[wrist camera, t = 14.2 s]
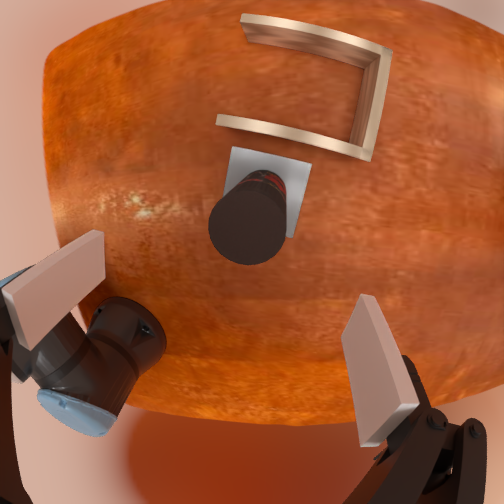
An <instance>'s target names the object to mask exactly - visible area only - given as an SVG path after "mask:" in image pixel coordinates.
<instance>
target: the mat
mask: <svg viewBox="0 0 504 504" xmlns="http://www.w3.org/2000/svg"><path fill="white" fill-rule="evenodd" d="M311 165H312V164H311V163H307V162H303V161H299V160H295V159H291V158H287V157H282V156H278V155H274V154H269V153H265V152H260V151H255V150H250V149H245V148H240V147H235V146H232V151H231V156H230V161H229V166H228V171H227V177H226V182H225V188H224V193H223V197H224V196H225V195H226V194H227V193H228V192H229V191H230V190H231V189H233V188H234V187H235V186H236V185H237V184H238V183H239V182H240V181H241V180H243V179H244V178H245V177H246V176H247V175H248V174H250V173H251V172H254V171H256V170H269V171H272V172H274V173H276V174H277V175H278V176H280V178H281V179H282V180H283V182H284V184H285V186H286V193H287V230H286V237H290V238H293V235H294V231H295V227H296V223H297V220H298V216H299V212H300V208H301V205H302V201H303V197H304V193H305V189H306V185H307V181H308V177H309V173H310V169H311Z"/></svg>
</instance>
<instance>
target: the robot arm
mask: <svg viewBox="0 0 504 504" xmlns="http://www.w3.org/2000/svg"><path fill="white" fill-rule="evenodd" d="M105 278H106V277H105V256H104V232H102V231H98V230H94V229H93V230H91V231H89V232H87V233H86V234H84V235H82V236H80V237H79V238H77V239H75V240H74V241H72V242H70V243H69V244H67V245H65V246H64V247H62V248H61V249H59V250H57V251H56V252H54V253H53V254H51V255H50V256H48V257H46V258H45V259H43V260H42V261H40V262H39V263H37V264H35V265H33V266H30V267H28V268H25V269H23V270H21V271H18V272H16V273H15V274H12V275H10V276H8V277H6V278H4V279H3V280H1V281H0V504H33V502H32V501H31V499H30V497H29V495H28V494H27V492H26V491H25V489H24V487H23V484H22V481H21V476H20V471H19V466H18V461H17V455H16V448H15V440H14V431H13V420H12V399H11V382H15V383H21V384H22V383H23V382H25V380H27V379H28V378H29V377H30V376H31V377H32V378H33V379H34V380H35V381H36V383H37V384H38V385H39V386H40V388H41V389H39V390H38V394H37V399H38V401H39V402H40V403H41V405H42V406H43V407H44V408H45V410H47V411H48V412H49V413H50V414H51V415H52V416H54V417H55V418H56V419H58V420H59V421H61V422H62V423H64V424H65V425H67V426H69V427H70V428H72V429H74V430H76V431H78V432H80V433H83V434H85V435H89V436H93V437H101V436H104V435H106V434H107V433H108V431H109V430H110V428H111V427H112V425H113V424H114V422H115V421H116V420H117V417H118V415H119V413H120V411H121V409H122V407H123V405H124V403H125V402H126V400H127V398H128V396H129V394H130V392H131V390H132V389H133V387H134V385H135V383H136V381H137V379H138V378H139V376H140V375H142V374H143V373H144V372H146V371H147V370H148V369H150V368H151V367H152V366H153V365H155V364H156V363H157V362H158V361H159V360H160V358H161V356H162V355H163V353H164V351H165V348H166V338H165V334H164V331H163V329H162V327H161V326H160V324H159V322H158V321H157V320H156V319H155V317H154V316H153V315H152V314H151V313H150V312H149V311H148V310H146V309H145V308H144V307H142V306H141V305H139V304H138V303H136V302H134V301H132V300H129V299H126V298H122V297H111V298H108V299H106V300H104V301H103V302H102V303H101V304H100V305H99V306H98V307H97V308H96V310H95V312H94V314H93V316H92V319H91V322H90V325H89V328H88V330H87V333H86V334H85V332H84V331H83V330H82V328H81V327H80V326H79V324H78V322H77V321H76V320H75V318H74V317H73V315H72V314H71V312H70V311H71V310H72V308H74V307H75V306H76V305H77V304H78V303H79V302H80V301H81V300H82V299H83V298H84V297H85V296H86V295H88V294H89V293H90V292H91V291H92V290H93V289H94V288H95V287H96V286H97V285H98V284H100V283H101V282H102V281H103V280H104V279H105ZM341 341H342V345H343V350H344V355H345V360H346V365H347V370H348V375H349V380H350V385H351V391H352V396H353V402H354V408H355V414H356V420H357V427H358V433H359V440H360V446H361V447H371V446H379V445H380V444H381V443H382V442H383V441H384V440H385V439H387V444H388V446H387V447H386V448H385V449H384V450H383V451H382V452H381V453H379V454H378V455H377V456H376V457H375V458H374V460H376V459H377V458H378V459H377V460H376V462H375V463H374V465H373V466H372V467H371V469H370V470H369V471H368V473H367V474H366V475H365V477H364V478H363V479H362V481H361V482H360V483H359V484H358V486H357V487H356V488H355V489H354V491H353V492H352V493H351V494H350V495H349V497H348V498H347V499H346V500H345V501H344V502H343V504H483V502H484V494H485V483H486V466H487V465H486V464H487V438H486V437H487V435H486V430H485V427H484V426H483V424H482V423H481V422H480V421H478V420H477V419H475V418H470V419H467V420H466V421H465V422H464V423H463V424H462V425H461V426H459V425H455V424H451V423H448V419H447V418H446V416H445V415H444V414H443V413H442V412H441V411H440V410H438V409H435V408H431V405H430V402H429V400H428V397H427V394H426V392H425V389H424V387H423V384H422V382H421V380H420V377H419V375H417V374H418V372H417V370H416V368H415V365H414V364H413V362H412V361H411V360H410V359H409V358H408V357H407V356H406V355H401V354H400V351H399V349H398V347H397V344H396V342H395V340H394V338H393V335H392V333H391V331H390V329H389V326H388V324H387V322H386V320H385V318H384V315H383V313H382V311H381V309H380V307H379V305H378V303H377V301H376V299H375V297H374V296H370V295H366V294H360V296H359V299H358V301H357V303H356V306H355V308H354V310H353V312H352V314H351V317H350V319H349V321H348V323H347V325H346V327H345V329H344V331H343V333H342V336H341ZM452 467H453V469H452V474H451V468H452Z"/></svg>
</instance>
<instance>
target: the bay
mask: <svg viewBox="0 0 504 504" xmlns="http://www.w3.org/2000/svg"><path fill="white" fill-rule="evenodd" d="M240 23H241V26H242V28H243V30H244V33H245V35H246V37H247V40H248V42H252V43H259V44H266V45H272V46H278V47H283V48H288V49H293V50H298V51H303V52H307V53H311V54H315V55H319V56H323V57H327V58H331V59H334V60H338V61H341V62H344V63H347V64H351V65H354V66H357V67H360V68H363V69H364V74H363V79H362V84H361V89H360V94H359V99H358V104H357V109H356V113H355V118H354V122H353V127H352V131H351V135H350V140H349V143H347V142H343V141H340V140H337V139H333V138H330V137H326V136H323V135H319V134H315V133H311V132H308V131H304V130H300V129H295V128H291V127H287V126H283V125H278V124H273V123H269V122H264V121H259V120H253V119H248V118H242V117H236V116H230V115H224V114H218V115H217V120H216V125H219V126H224V127H229V128H234V129H240V130H246V131H251V132H256V133H261V134H266V135H271V136H275V137H280V138H284V139H288V140H293V141H297V142H301V143H305V144H309V145H312V146H316V147H320V148H324V149H327V150H331V151H334V152H338V153H341V154H344V155H348V156H351V157H354V158H358V159H361V160H365V161H368V162H370V161H371V157H372V153H373V149H374V145H375V141H376V137H377V132H378V128H379V123H380V119H381V114H382V109H383V104H384V99H385V94H386V88H387V83H388V77H389V71H390V64H391V58H392V50H391V49H389V48H386V47H384V46H381V45H378V44H376V43H373V42H370V41H368V40H365V39H362V38H359V37H356V36H353V35H350V34H346V33H343V32H340V31H336V30H332V29H329V28H325V27H321V26H317V25H313V24H308V23H304V22H299V21H294V20H288V19H283V18H276V17H270V16H262V15H254V14H244V13H242V16H241V20H240Z"/></svg>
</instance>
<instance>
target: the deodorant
mask: <svg viewBox="0 0 504 504" xmlns="http://www.w3.org/2000/svg"><path fill="white" fill-rule="evenodd" d="M208 230H209V234H210V239H211V241H212V243H213V245H214V247H215V248H216V249H217V250H218V251H219V253H220V254H221V255H223V256H224V257H225V258H227V259H228V260H230V261H233V262H235V263H238V264H243V265H255V264H260V263H263V262H265V261H267V260H269V259H270V258H272V257H273V256H275V255H276V253H277V252H278V251H279V250H280V249H281V247H282V245H283V243H284V241H285V236H286V230H287V193H286V186H285V184H284V182H283V180H282V179H281V178H280V176H278V175H277V174H276V173H274V172H272V171H269V170H256V171H254V172H251V173H250V174H248V175H247V176H246V177H245V178H244V179H243V180H241V181H240V182H239V183H238V184H237V185H236V186H235V187H234V188H233V189H231V190H230V191H229V192H228V193H227V194H226V195H225V196H224V197H223V198H222V199H221V200H219V201H218V202H217V204H216V205H215V207H214V208H213V209H212V212H211V215H210V217H209V226H208Z"/></svg>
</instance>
